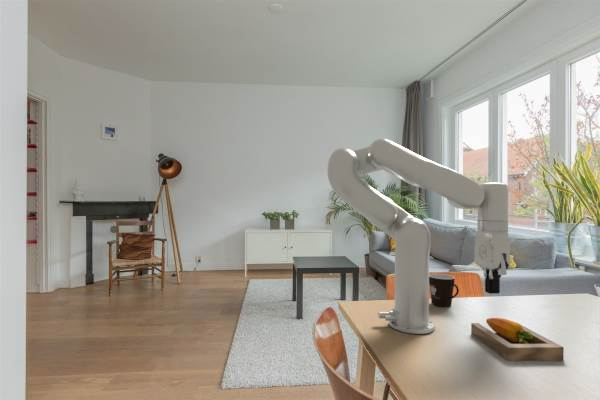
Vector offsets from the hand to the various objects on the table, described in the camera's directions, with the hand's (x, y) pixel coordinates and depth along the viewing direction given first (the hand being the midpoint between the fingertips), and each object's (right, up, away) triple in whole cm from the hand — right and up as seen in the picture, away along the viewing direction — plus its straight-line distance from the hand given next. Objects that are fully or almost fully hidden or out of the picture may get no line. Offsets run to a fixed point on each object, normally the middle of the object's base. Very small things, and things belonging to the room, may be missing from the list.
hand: (492, 292), depth 96 cm
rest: (0, -11, -9) cm, 14 cm away
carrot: (0, -9, +3) cm, 9 cm away
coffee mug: (-4, -11, +24) cm, 27 cm away
